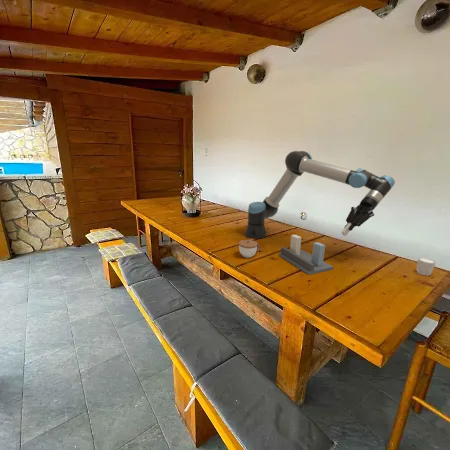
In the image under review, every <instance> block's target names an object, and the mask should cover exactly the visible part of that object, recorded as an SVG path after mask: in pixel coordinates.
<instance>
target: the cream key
mask: <svg viewBox="0 0 450 450" xmlns="http://www.w3.org/2000/svg"><path fill="white" fill-rule="evenodd" d="M301 243H302V237H301V236H300V235H297V234H291V236H290V245H289V246H290V247H289V250H291V251H292V252H294V253H296V254H297V255H300V250H301V245H302V244H301Z"/></svg>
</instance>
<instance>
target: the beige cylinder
mask: <svg viewBox="0 0 450 450" xmlns="http://www.w3.org/2000/svg"><path fill="white" fill-rule="evenodd" d="M436 263H437V262H436V261H435V260H433V259H430V258H428V257H427V258H426V257H418V258H417V265H416V271H417V272H416V273H417V274H419V275H422V276H425V275H426V277H427V276H428V277H429V275H430V276H431V275H432V272H433V270H434V268H435V267H436Z"/></svg>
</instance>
